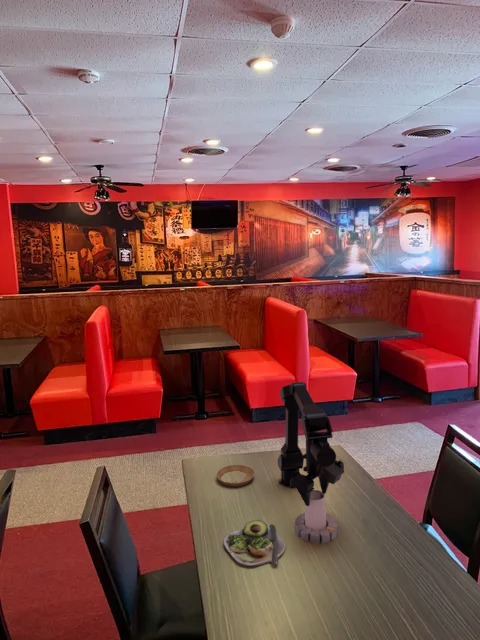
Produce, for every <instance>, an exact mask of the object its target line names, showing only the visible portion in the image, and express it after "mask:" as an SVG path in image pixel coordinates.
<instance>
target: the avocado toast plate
mask: <svg viewBox="0 0 480 640" xmlns="http://www.w3.org/2000/svg"><path fill="white" fill-rule="evenodd" d="M243 527H244V528H242V529H238V530H234V531H232V532H229V533H227V535H225V536H224V539H223V546H224V549H225V551H227V553H228V554H229V555H230V556H231V558H232V559H234V560H235V561H236V562H237V563H238V564H240V565H243V566H245V567H246V566H247V567H259V566H263V565H265V564H268V563H271V564H272V565H277V564H279V557H280V556H281V555H283V554H284V552H285V549H286V544H285V542H284V540H282V539H281V538H280V536H279V535H278V534H277V533H276V532H277V530H276V529H277V528H276V526H275V525H274V524H269V525H267V523H266V522H264V521H263V520H260V519H253V520H250V521H248V522H246V523H245V525H244V526H243ZM246 553H249V554H251V555H252V556H253V557H254V558H255V559H253V560H246V559H243V558H241V557H240V556H238V555H237V554H246Z"/></svg>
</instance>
